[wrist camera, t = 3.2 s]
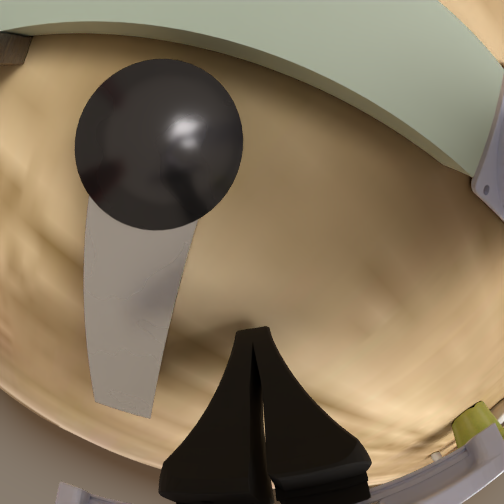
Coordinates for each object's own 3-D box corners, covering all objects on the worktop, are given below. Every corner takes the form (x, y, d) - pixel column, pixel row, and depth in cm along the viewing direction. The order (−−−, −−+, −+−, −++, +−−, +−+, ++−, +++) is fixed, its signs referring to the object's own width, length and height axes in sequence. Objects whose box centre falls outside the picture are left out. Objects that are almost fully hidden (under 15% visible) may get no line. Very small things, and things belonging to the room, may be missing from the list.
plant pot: (431, 434, 27) (448, 478, 19) (477, 395, 23) (502, 441, 15) (457, 426, 29) (474, 463, 21) (497, 391, 25) (518, 429, 17)
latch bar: (142, 66, 7) (99, 49, 4) (258, 96, 8) (270, 87, 5) (100, 359, 13) (84, 404, 10) (166, 379, 14) (158, 427, 11)
